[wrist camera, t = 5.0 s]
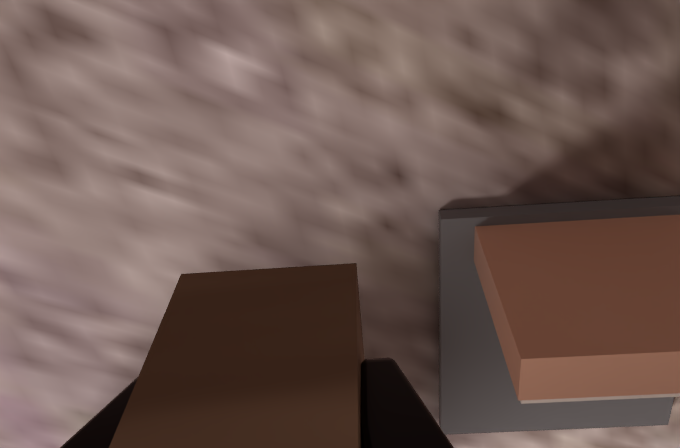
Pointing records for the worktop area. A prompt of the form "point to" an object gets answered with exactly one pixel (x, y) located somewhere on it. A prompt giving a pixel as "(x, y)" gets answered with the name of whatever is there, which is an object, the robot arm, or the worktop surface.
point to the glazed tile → (585, 306)
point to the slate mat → (482, 340)
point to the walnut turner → (253, 363)
